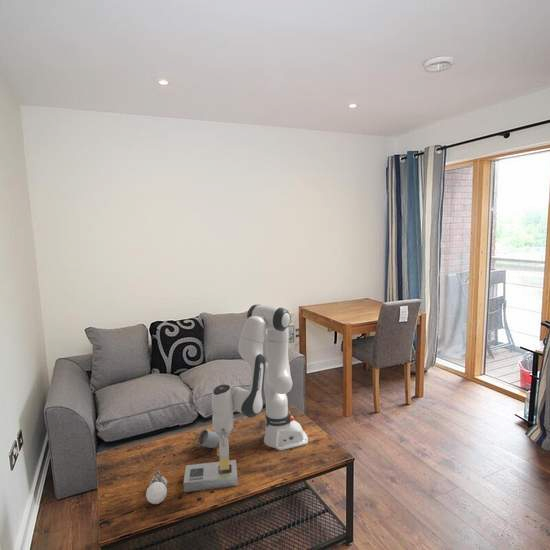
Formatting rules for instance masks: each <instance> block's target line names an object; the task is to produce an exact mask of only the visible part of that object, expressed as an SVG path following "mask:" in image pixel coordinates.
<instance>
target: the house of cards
mask: <svg viewBox="0 0 550 550" xmlns="http://www.w3.org/2000/svg"><path fill="white" fill-rule="evenodd" d="M160 474H161V471H160V470H159V469H158V468H157V470H156V472H155V474H154V476H153V477H152V479H151V481H150V482H149V485H148V487H149V486H150V485H151V484H153V483H154V482H162V483H163V484H165V486H166V487H167V486H168V480H167V479H166V478H165V477H164V475H160Z"/></svg>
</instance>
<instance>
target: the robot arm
mask: <svg viewBox="0 0 550 550" xmlns="http://www.w3.org/2000/svg"><path fill="white" fill-rule="evenodd" d="M290 324H291V314H290V312H289V310H288V309H286V308H284V307H279V306H274V305H268V304H267V305H265V304H258V303H257V304H253V305H251V306H250V307H249V309H248V311H247V314H246V321H245V323H244V325H243V328H242V330H241V333H240V336H239V337H240V338H239V342H238V345H237V350H238V351H237V352H238V353H239V355H240V356H241V359H242V360H244V361H245V362H246V363H247V365H248V366H249V367H250V371H251V377H250V384H249V385H250V386H249V390H248V389H245V388H243V387H240V386H230V385H229V384H220V385H217V386H216V387H214V389H213V391H212V395H211V410H212V417H211V418H212V430H213V432H215V433H217V434H218V435H219V443H218V448H219V454H220V457H222V459H226V457H227V456H228V455H229V456H230V449H228V445H229V434H230V433H231V431H232V430H233V429H234V427H235V425H234V412H238V413H240V414H242V415H244V416H246V417H248V418H250V419H251V418H254V417H257V416H258V415H259V414H260V413H261V412H262V411H263V409H264V399H265V415H264V416H265V417H264V421H265V422H264V423H265V431H264V438H263V443H264V444H265V445H266V446H267V447H270V448H274V449H276V450H277V451H283V450H288V449H289V450H290V449H294V448H298V447H301V446H306V445H307V444H308V442H309V438H308V434H307V433H306V432H305V431H304V430H303V428H302V427H303V426H302V425H301V424H300V423H299V422H298V421H296V420H295V418H294V416H293V414H292V413H291V412H290V411H289V409H288V407H289V405H288V403H289V402H288V396H287V394H288V393H289V392H290V391H291V390H292V387H293V380H292V376H291V367H290V361H289V338H290V335H289V334H290V333H289V326H290ZM265 339H266V340H265ZM265 341H266V342H265ZM264 343H265V344H266V345H265V355H264ZM265 356H266V358H265ZM266 361H267V362H266Z"/></svg>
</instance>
